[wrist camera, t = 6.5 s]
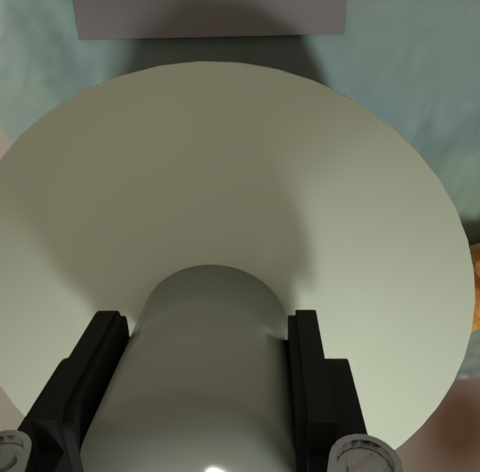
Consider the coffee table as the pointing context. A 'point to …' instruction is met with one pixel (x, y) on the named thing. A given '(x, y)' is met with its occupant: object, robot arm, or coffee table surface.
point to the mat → (206, 18)
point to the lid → (227, 262)
